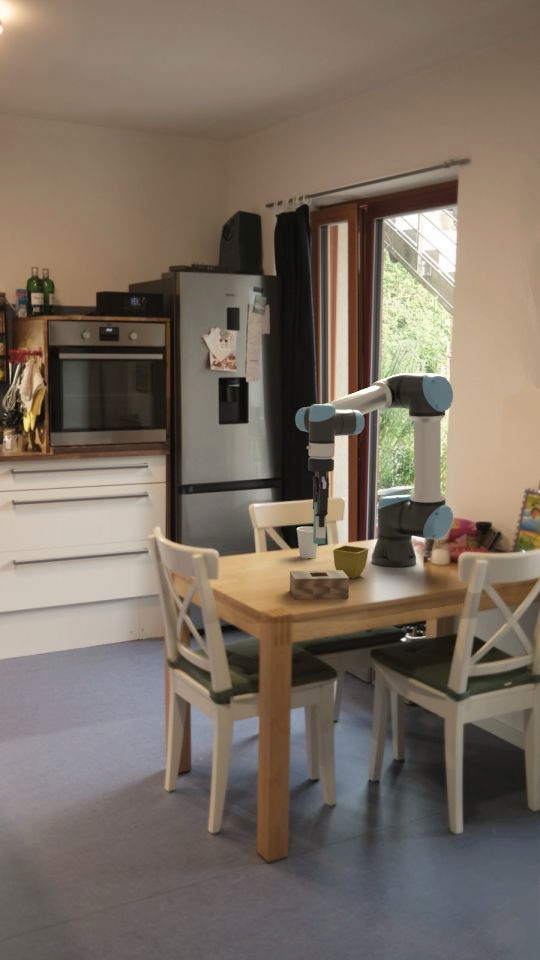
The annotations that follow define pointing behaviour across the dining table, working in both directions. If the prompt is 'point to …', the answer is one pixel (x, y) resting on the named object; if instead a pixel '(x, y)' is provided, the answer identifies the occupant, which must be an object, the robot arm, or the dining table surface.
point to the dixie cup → (306, 542)
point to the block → (319, 584)
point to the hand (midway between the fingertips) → (319, 536)
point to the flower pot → (350, 560)
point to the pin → (315, 540)
